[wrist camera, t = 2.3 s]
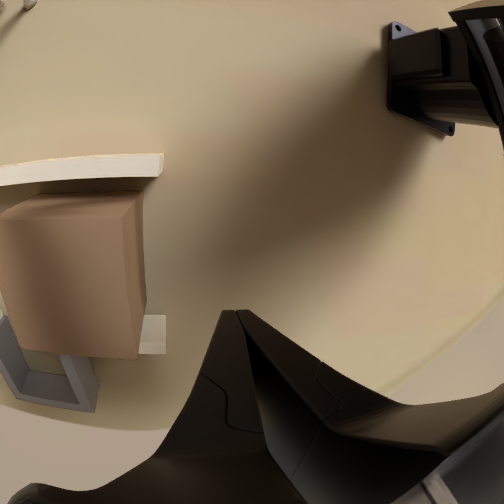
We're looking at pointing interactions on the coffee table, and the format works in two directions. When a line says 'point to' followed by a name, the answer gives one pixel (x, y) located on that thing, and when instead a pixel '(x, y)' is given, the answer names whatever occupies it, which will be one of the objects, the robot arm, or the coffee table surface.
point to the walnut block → (75, 273)
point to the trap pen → (76, 367)
